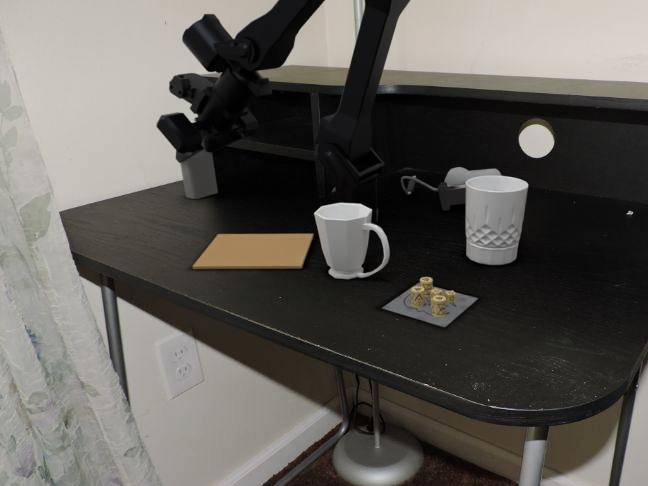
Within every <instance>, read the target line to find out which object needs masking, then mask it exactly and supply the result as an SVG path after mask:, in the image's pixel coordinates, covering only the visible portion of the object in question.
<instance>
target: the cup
mask: <svg viewBox="0 0 648 486" xmlns="http://www.w3.org/2000/svg"><path fill="white" fill-rule="evenodd" d="M313 214H314V219H315V224H316V226H317V231H318V236H319V241H320V245H321V250H322V253H323V255H324V259H325V262H326V265H327V266H329V267H330V268H329V270H328V274H329V276H332V277H333V278H334V279H343V280H351V279H355V278H361V279H363V278H367V277H370V276H372V275H374V274H376V273H377V272H379V271H381V270H382V269H383V268H385V266H387V264H388V263H389V260H390V253H391V252H390V245H389V240H388V237H387V235H386V233H385V232H384V230H383V228H382V227H380V226H379V225H377V224H371V216H372V209H370V208H368V207H366V206H364V205H362V204H353V203H336V204H333V203H331V204H326V205H322V206H320V207H319V208H318V209H317V210H316V211H315V212H314V213H313ZM370 231H374V232H375V233H376V234H377V235H378V237H379V239H380V241H381V245H382V249H383V260H382V262H381V264H380V265H378V267H377V268H375V269H374V270H372V271H369V272H364V267H363V266H362V265H363V264H364V263H365V259H366V255H367V251H368V245H369V240H370V239H369V238H370Z"/></svg>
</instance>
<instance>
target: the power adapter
mask: <svg viewBox="0 0 648 486" xmlns="http://www.w3.org/2000/svg"><path fill="white" fill-rule="evenodd" d="M204 141H205V139H204V140H203V141H202V144H201V145H202V146H203V147H204V150H202V151H200V152H199V153H197V154H195V155H194V156H192V157H190V158H189V159H187V160H185V161H183V162H181V163H179V164H180V171H181V176H182V180H183V181H182V182H183V186H184V192H185V198H187V199H192V200H199V199H202V198H205V197H209V196H212V195H216V194H218V193H219V192H218V185H217V177H216V171H215V164H214V157H213V152H212V153H211V152H206V149H205V142H204Z"/></svg>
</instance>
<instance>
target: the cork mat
mask: <svg viewBox="0 0 648 486" xmlns="http://www.w3.org/2000/svg"><path fill="white" fill-rule="evenodd" d="M313 239H314V233H218V234H216V236H215V237H214V238H213V240H212V241H211V243H210V244H209V245H208V246H207V248H206V249H205V250H204V251H203V252H202V254H201V255H200V257H199V258H197V260H196V261H195V262H194V264H193V265H192V269H193V270H259V269H260V270H272V269H273V270H279V269H280V270H281V269H283V270H284V269H287V270H288V269H289V270H290V269H291V270H293V269H295V270H296V269H297V270H298V269H300V270H301V269H303V267H304V264H305V261H306V258H307V255H308V252H309V250H310V247H311V244H312V242H313Z"/></svg>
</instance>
